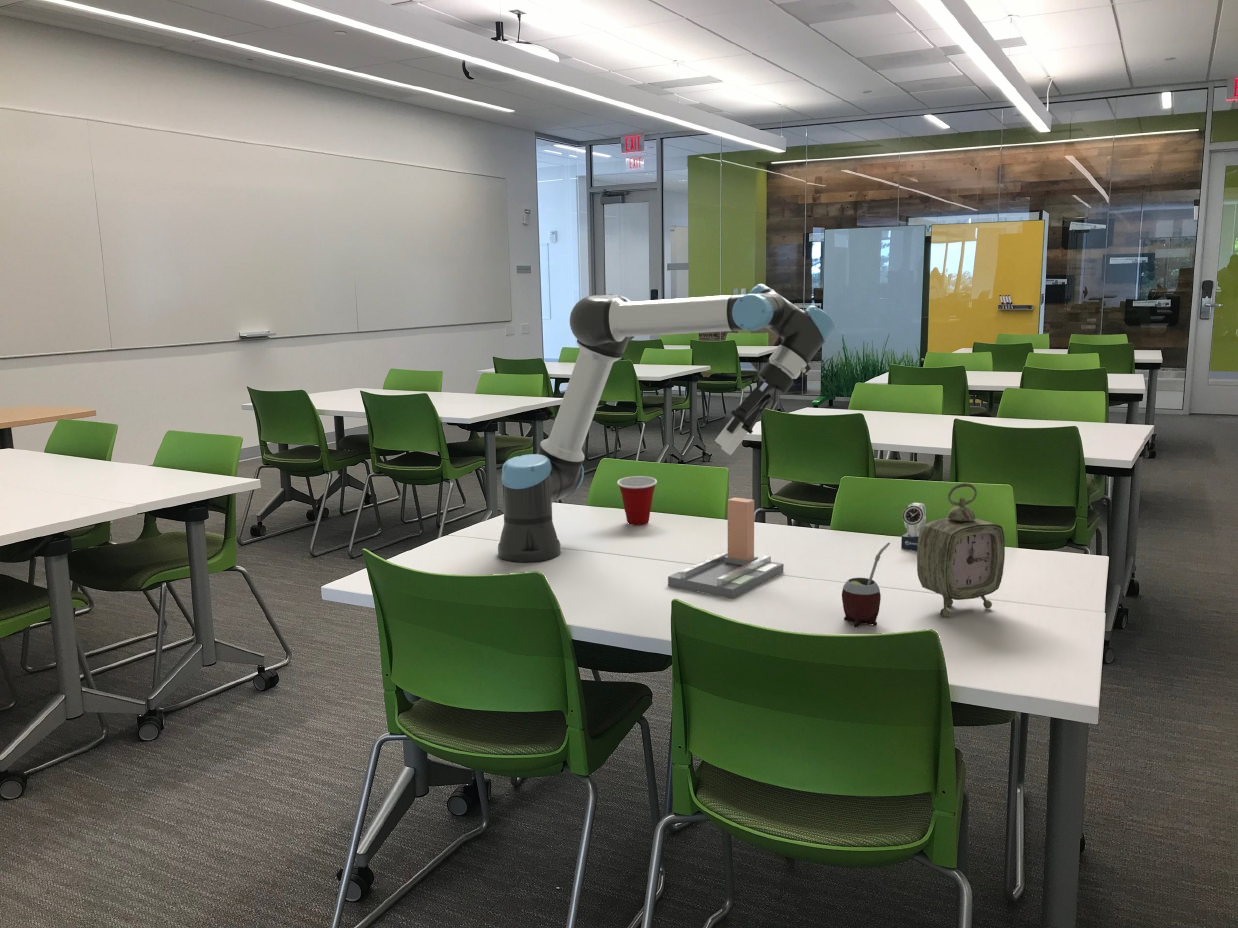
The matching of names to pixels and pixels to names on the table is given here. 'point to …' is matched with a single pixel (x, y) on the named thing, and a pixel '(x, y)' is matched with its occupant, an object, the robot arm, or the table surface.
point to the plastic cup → (637, 498)
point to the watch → (913, 525)
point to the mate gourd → (862, 597)
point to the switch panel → (725, 576)
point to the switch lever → (740, 531)
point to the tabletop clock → (961, 555)
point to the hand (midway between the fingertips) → (722, 448)
